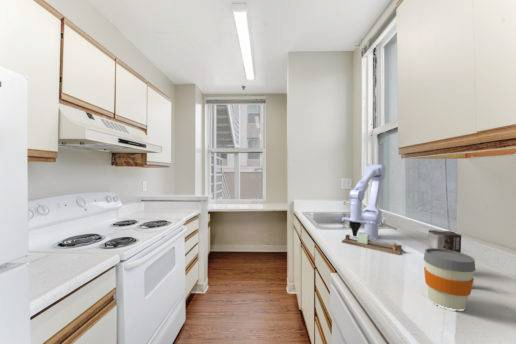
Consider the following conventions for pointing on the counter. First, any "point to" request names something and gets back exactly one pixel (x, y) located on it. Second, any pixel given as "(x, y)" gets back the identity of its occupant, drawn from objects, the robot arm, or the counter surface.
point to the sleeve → (363, 238)
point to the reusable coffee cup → (448, 277)
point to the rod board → (375, 245)
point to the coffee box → (444, 240)
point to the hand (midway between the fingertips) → (354, 235)
